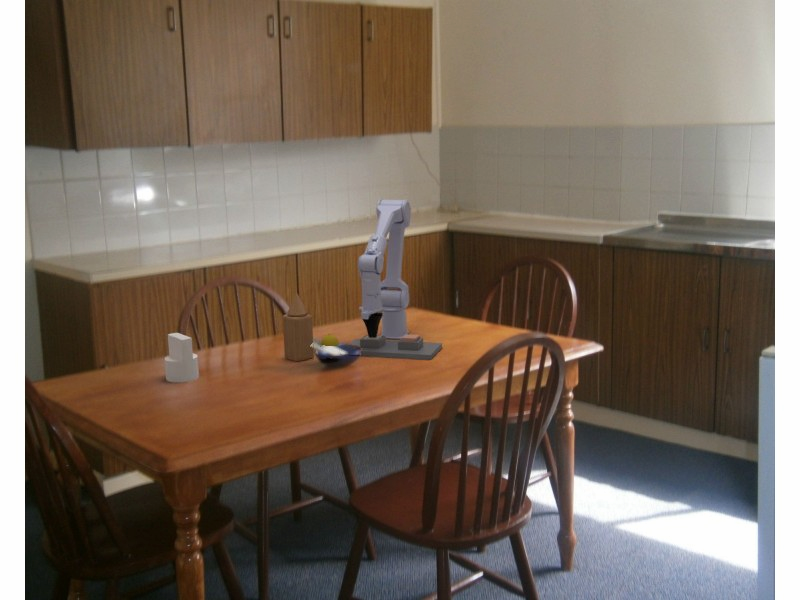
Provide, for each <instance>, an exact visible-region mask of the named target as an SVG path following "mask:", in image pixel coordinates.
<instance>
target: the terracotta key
mask: <svg viewBox="0 0 800 600" xmlns="http://www.w3.org/2000/svg"><path fill="white" fill-rule="evenodd" d="M420 337H421V336H420V334H410V333H408V334H405V335H404V336H403V337H402V341H407V342H417V341H418V340H419V339H420Z"/></svg>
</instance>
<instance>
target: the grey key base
mask: <svg viewBox="0 0 800 600" xmlns="http://www.w3.org/2000/svg"><path fill="white" fill-rule="evenodd" d="M378 335H379V334H378ZM366 336H368V334H366V335H364V336H363V337H361V338H355V339H353V340H352V341H351V342H349V343H348V344H352V345H358V346H360V347H361V348H362V351H361V355H360V356H359V357H374V358H387V359H388V358H389V359H390V358H391V359H405V360H407V359H408V360H427V361H432V359H433V358H434V357H436V355H437V354H438V353H439V352H440V351H441V350H442V349H443V342H432V341H431V342H427V341H426V342H425V341H424V337H421V336H420V339H419V340H418V341H417V342H407V341H402V338H401V339H398V340H394V339H393V340H392V339H391V340H390V339H389V340H388V339H387V338H386V336H384V335H381V334H380V335H379V336H382V337H381V338H380V339H379V340H369V339H364V338H365V337H366ZM441 348H442V349H441Z"/></svg>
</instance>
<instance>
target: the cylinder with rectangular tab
mask: <svg viewBox="0 0 800 600" xmlns="http://www.w3.org/2000/svg"><path fill="white" fill-rule="evenodd" d="M167 342H168V343H167V344H168V354H169V355H167V356H165V357H164V369H165V371H164V372H165V379H166V381H167V382H169V383H187V382H192V381H196V380H197V379H199V377H200V372H199V356H198V354H196V353H194V352H193V339H192V337H190V336H188V335H184V334H182V333H179V332H173V333H169V334H167Z"/></svg>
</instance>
